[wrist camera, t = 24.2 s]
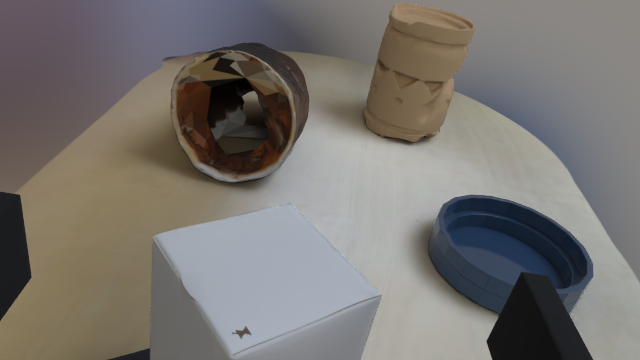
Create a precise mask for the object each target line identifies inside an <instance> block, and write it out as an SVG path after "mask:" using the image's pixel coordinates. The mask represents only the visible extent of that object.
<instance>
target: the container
mask: <svg viewBox="0 0 640 360" xmlns="http://www.w3.org/2000/svg"><path fill="white" fill-rule="evenodd" d="M474 31H475V24H474V23H473V22H471V21H470V20H468V19H466V18H464V17H462V16H459V15H457V14H454V13H451V12H448V11H444V10H441V9H437V8H433V7H428V6H422V5H414V4H409V3H396V4H395V5H394V6H393V9H392V10H391V12H390V15H389V23H388V25H387V27H386V30H385V33H384V36H383V38H382V42H381V46H380V50H379V54H378V58H377V62H376V66H375V70H374V74H373V78H372V82H371V86H370V90H369V94H368V98H367V106H366V107H365V109H364V116H365V119H366V126H367V128H368V129H369V130H371V131H373V132H374V133H376V134H380V136H381V137H384V136H388V137H392V138H401V139H405V140H408V141H411V142H416V141H418V140H419V139H420V138H422V137H423V136H427V137H433V136H435V135H436V134H437V133H439V132H440V127H441V126H442V125H443V122H444V119H445V116H446V113H447V110H448V107H449V104H450V101H451V98H452V94H453V88H454V80H453V79H452V78H451V76H453V75H454V74H455V73H456V72H457V71H458V70H459V69H460V68H461V66H462V64H463V62H464V60H465V57H466V54H467V51H468V43H470V41H471V39H472V37H473V34H474Z"/></svg>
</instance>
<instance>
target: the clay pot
mask: <svg viewBox="0 0 640 360" xmlns="http://www.w3.org/2000/svg"><path fill="white" fill-rule="evenodd" d="M251 91H255V92H256V93H257V95H258V101H259V104H260V106H261V108H262V111H263V115H264V118H265V121H266V125H267V126H252V125H243V124H244V122H245V121H246V119H247V118H246V116H245V114H244V112H243V104H244V101H243V98H242V96H243V95H245V94H247V93H248V92H251ZM308 111H309V95H308V91H307V86H306V82H305V78H304V75H303V73H302V71H301V70H300V68H299V66H298V65H297V63H296V62H295V61H294V60H293V59H292V58H290V57H289V56H287V55H285V54H283V53H280V52H278V51H276V50H273V49H271V48H269V47H267V46H265V45H263V44H260V43H241V44H237V45H234V46H231V47H223V48H219V49H216V50H212V51H210V52H207V53H206V54H204V55H201V56H199V57H197V58H195V59H193V60H192V61H191V62H190V63H188V64H187V65H185V66H184V67H183V68H182V69H181V70H180V72H179V73H178V74H177V76H176V77H175V79H174V83H173V87H172V90H171V118H172V123H173V126H174V128H175V132H176V135H177V138H178V140H179V143H180V144H181V146H182V148H183V149H184V150H185V152H186V153H187V154H188V156H189V158H190V160H191V162H192V164H193V165H194V166H195V167H196V168H197V169H198V170H199V171H201V172H203V173H205V174H207V175H209V176H211V177H213V178H215V179H216V180H221V181H227V182H238V181H247V180H251V179H257V178H262V177H265V176H267V175H269V174H270V173H272V172H274V171H275V170H276V169H278V168H279V167H280V166H281V165H282V164H283V162H284V161H285V160H286V158H287V157H288V156H289V155H290V153H291V152H292V150H293V148H294V144H295V142H296V141H297V139H298V138H299V136H300V134H301V132H302V131H303V128H304V126H305V123H306V121H307V118H308ZM220 136H227V137H251V138H267V139H266V140H265V141H264V142H263V143H262V144H261V145H260V146H259V147H258V148H257V149H256V150H252V151H246V152H240V153H235V154H227V153H225V152H224V151H223V149H222V148H221V147H220V146H219V144H218V143H217V142H216V140H217V139H218V138H219V137H220Z"/></svg>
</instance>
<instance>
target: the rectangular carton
mask: <svg viewBox="0 0 640 360" xmlns="http://www.w3.org/2000/svg"><path fill="white" fill-rule="evenodd" d="M381 296H382V294H381V293H380V292H379V291H378V290H376V289H375V288H374V287H373V286H372V285H371V284H370V283H369V282H368V281H367V280H366V279H365V278H364V277H363V276H362V275H361V274H360V273H359V272H358V271H357V270H356V269H355V268H354V267H353V266H352V265H351V264H350V263H349V262H348V261H347V260H346V259H345V258H344V257H343V256H342V255H341V254H340V253H339V252H338V251H337V250H336V249H335V248H334V247H333V245H332V244H331V243H330V242H329V241H328V240H327V239H326V238H325V237H324V236H323V235H322V234H321V233H320V232H319V231H318V230H317V229H316V228H315V227H314V226H313V225H312V224H311V223H310V222H309V221H308V220H307V219H306V218H305V217H304V216H303V215H302V214H301V213H300V212H299V211H298V210H297V209H296V208H295V207H294V206H293V205H292V204H291V203H288V204H285V205H280V206H274V207H270V208H266V209H262V210H258V211H255V212H251V213H247V214H242V215H238V216H234V217H230V218H225V219H221V220H216V221H212V222H207V223H202V224H197V225H193V226H188V227H184V228H180V229H175V230H171V231H167V232H163V233H160V234H156V235H154V236H153V244H152V283H151V332H150V360H360V359H361V356H362V353H363V350H364V347H365V344H366V341H367V338H368V335H369V332H370V329H371V326H372V323H373V320H374V317H375V314H376V311H377V308H378V305H379V302H380V299H381Z"/></svg>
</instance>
